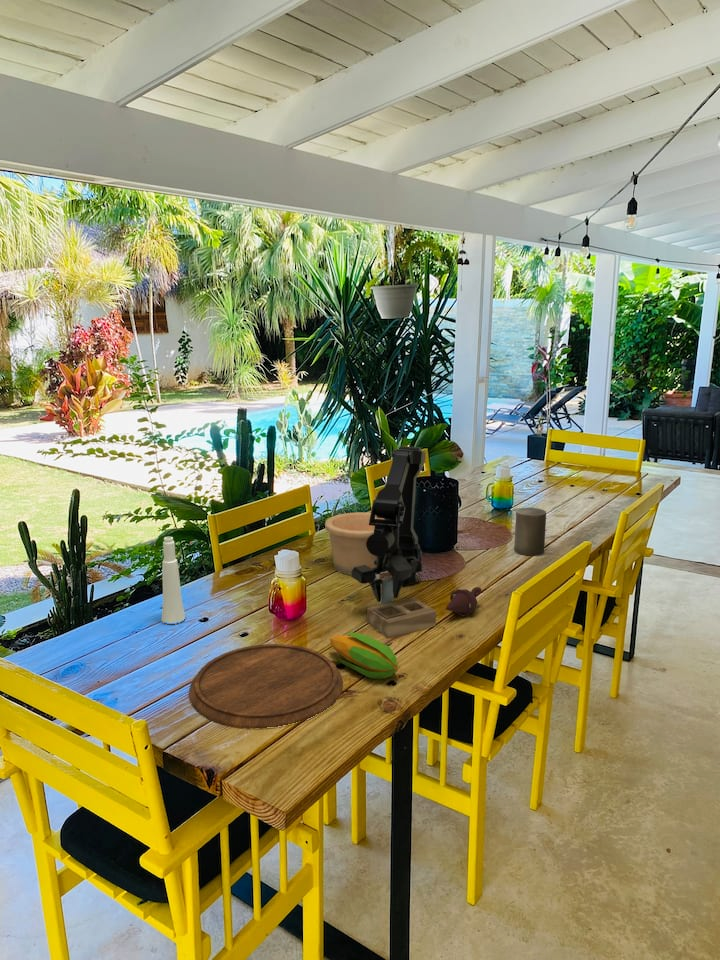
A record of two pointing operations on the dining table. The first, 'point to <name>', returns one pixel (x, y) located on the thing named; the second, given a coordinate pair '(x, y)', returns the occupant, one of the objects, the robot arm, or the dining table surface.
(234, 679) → the cutting board
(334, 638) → the corn
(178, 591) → the cosmetic bottle
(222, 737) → the dining table surface
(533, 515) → the pillar candle
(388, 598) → the dowel
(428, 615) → the socket block
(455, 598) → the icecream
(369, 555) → the pottery
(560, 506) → the dining table surface
